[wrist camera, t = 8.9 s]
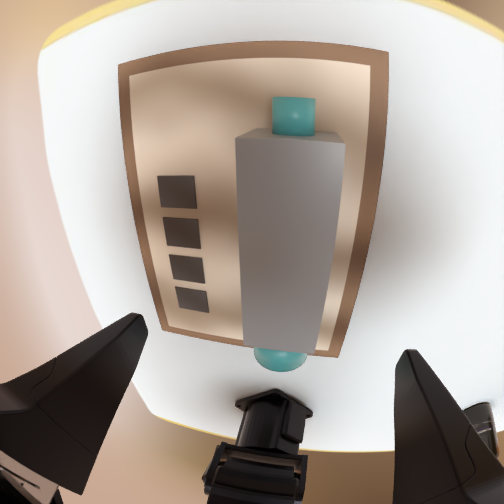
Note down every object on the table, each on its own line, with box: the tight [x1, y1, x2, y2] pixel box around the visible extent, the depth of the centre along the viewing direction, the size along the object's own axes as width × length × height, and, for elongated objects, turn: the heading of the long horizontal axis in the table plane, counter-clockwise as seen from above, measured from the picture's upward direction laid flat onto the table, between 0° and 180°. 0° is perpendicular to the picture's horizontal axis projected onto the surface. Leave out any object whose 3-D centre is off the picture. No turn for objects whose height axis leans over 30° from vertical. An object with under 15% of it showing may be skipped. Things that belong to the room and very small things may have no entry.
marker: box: [235, 97, 345, 372], centre depth 14 cm, size 15×4×4 cm, turn 0°
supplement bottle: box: [463, 403, 499, 459], centre depth 19 cm, size 7×7×12 cm
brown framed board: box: [118, 41, 389, 358], centre depth 17 cm, size 21×15×1 cm
